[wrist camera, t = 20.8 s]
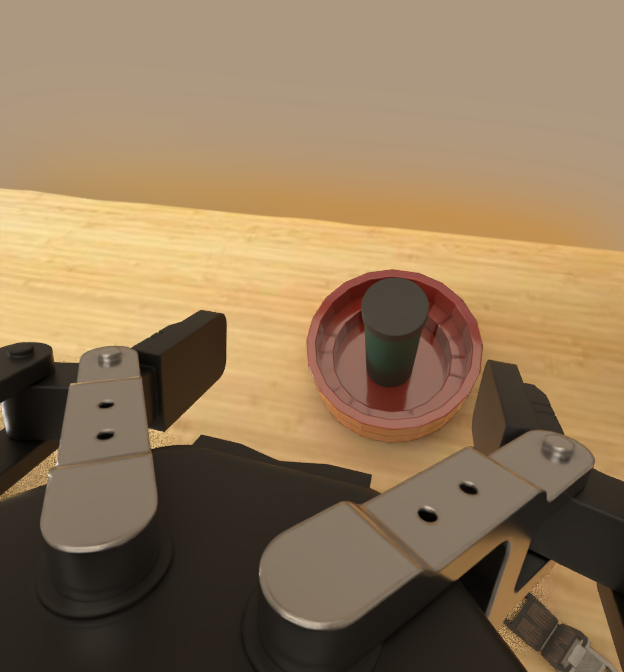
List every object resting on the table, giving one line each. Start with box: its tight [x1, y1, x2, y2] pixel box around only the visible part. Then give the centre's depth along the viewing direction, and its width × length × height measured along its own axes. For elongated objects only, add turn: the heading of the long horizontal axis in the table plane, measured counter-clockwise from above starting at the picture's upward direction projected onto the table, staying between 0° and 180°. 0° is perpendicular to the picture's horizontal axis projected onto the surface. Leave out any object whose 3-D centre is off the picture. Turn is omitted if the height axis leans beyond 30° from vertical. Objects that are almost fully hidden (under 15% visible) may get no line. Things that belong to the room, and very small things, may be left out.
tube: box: [362, 277, 429, 388], centre depth 37 cm, size 5×5×12 cm
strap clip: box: [504, 593, 618, 672], centre depth 31 cm, size 8×3×4 cm, turn 47°
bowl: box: [307, 269, 483, 442], centre depth 41 cm, size 15×15×6 cm
